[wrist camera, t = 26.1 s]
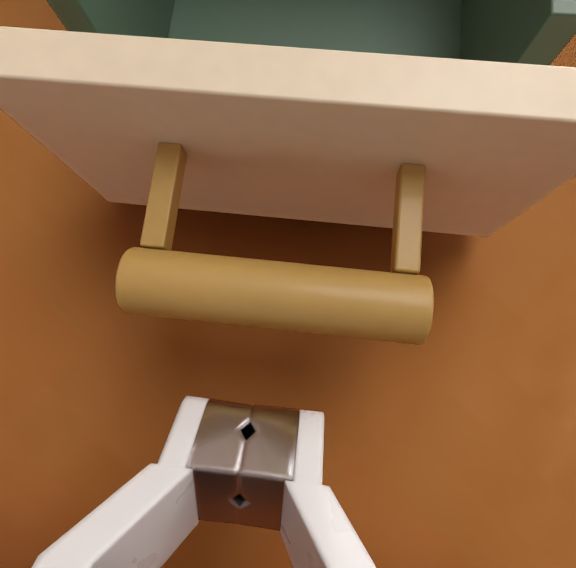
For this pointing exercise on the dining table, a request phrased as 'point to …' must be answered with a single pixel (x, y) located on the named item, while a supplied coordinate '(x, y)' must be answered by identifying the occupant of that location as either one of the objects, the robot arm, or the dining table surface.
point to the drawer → (301, 137)
